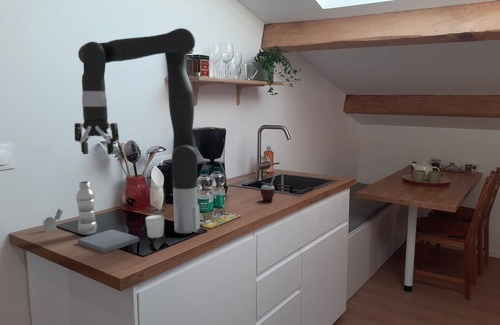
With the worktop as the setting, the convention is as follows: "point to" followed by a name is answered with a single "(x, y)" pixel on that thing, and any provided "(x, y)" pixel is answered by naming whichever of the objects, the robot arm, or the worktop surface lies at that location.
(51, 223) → the lighter
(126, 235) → the board
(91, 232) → the plastic bottle
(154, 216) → the white cup
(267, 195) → the mate gourd
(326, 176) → the worktop surface
